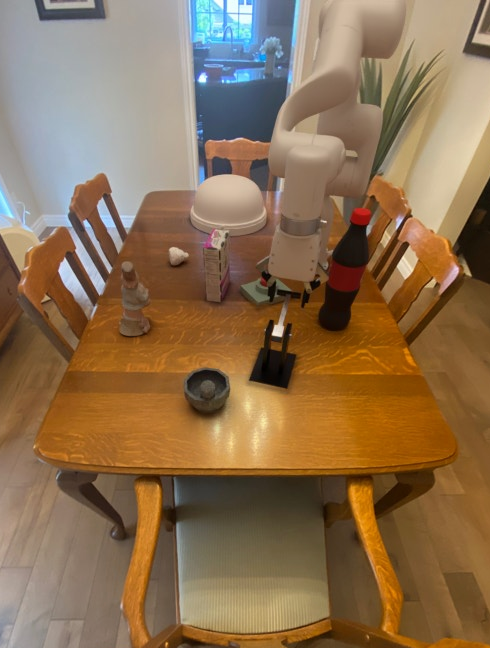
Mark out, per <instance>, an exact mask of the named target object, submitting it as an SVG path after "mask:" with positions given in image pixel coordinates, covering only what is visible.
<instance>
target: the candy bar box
mask: <svg viewBox="0 0 490 648" xmlns="http://www.w3.org/2000/svg"><path fill="white" fill-rule="evenodd" d="M202 253H203V267H204V268H203V269H204V283H205V300H206V302H212V303H219V304H222V302H223V300H224V298H225V295H226V293H227V291H228V288H229V286H230V283H231V282H230V278H231V277H230V236H229V231H228V230H220V229H219V230H218V229H213V230H212V232H211V234H209V236H208V237H207V239H206V242H205V243H204V245H203V246H202Z"/></svg>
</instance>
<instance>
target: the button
mask: <svg viewBox="0 0 490 648" xmlns="http://www.w3.org/2000/svg"><path fill="white" fill-rule="evenodd" d="M260 278H261V285H262V286H264V287H268V285H267V282H266V281H265V280H264V279H263V278H262V277H260Z"/></svg>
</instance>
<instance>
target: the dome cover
mask: <svg viewBox="0 0 490 648" xmlns="http://www.w3.org/2000/svg"><path fill="white" fill-rule="evenodd" d="M267 214H268V213H267V209H266V207H265V205H264V199H263V194H262V191H261V189H260V187H259V185H257V183H255V181H253V180H252V179H251V178H247V177H245V176H242V175H238V174H230V173H229V174H228V173H227V174H218V175H213V176H210V177H208V178H206V179H205V180H203V181H202V182H200V184H199V186H198V187H197V188H196V191H195V194H194V198H193V204H192V206H191V209H190V223H191V225H192V226H193V227H194V228H196V229H197V230H199V231H201V232H203V233H205V234H209V235H210V234H211V232H212V230H213V229H218V230H219V229H220V230H228V231H229V237H239V236H245V235H250V234H253V233H256V232H258V231H260V230H261V229H263V228H264V227H265V226H266V224H267V219H268V217H267Z"/></svg>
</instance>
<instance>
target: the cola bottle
mask: <svg viewBox="0 0 490 648" xmlns="http://www.w3.org/2000/svg"><path fill="white" fill-rule="evenodd" d="M371 218H372V211H371V210H370V209H367V208H364V207H357V208H354V209H353V211H352V213H351V216H350V219H349V223H350V224H349V226H348V228H347V230H346V232H345V233H344V234H343V235H342V237H341V238H340V239H339V241H338V242H337V244H336V245H335V247H334V248H333V249H332V250H333V253H332V256H331V260H330V264H329V267H328V268H329V270H328V272H327V273H328V274H329V279H328V280H327V281H326V282H325V283H324V284H325V287H324V301H323V303H322V305H321V306H320V309H319V310H318V315H317V316H318V318H317V319H318V324H319V325H320V327H322V328H323V329H325V330H327V331H331V332H341V331H342V330H345V329H346V328H347V327H348V325H349V323H350V322H351V318H352V305H353V303H354V302H355V300H356V298H357V296H358V294H359V292H360V290H361V285H362V280H363V278H364V274H365V271H366V268H367V265H368V263H369V260H370V248H369V246H370V245H369V241H368V240H369V239H368V234H367V231H368V230H367V229H368V226H369V225H370V222H371Z"/></svg>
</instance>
